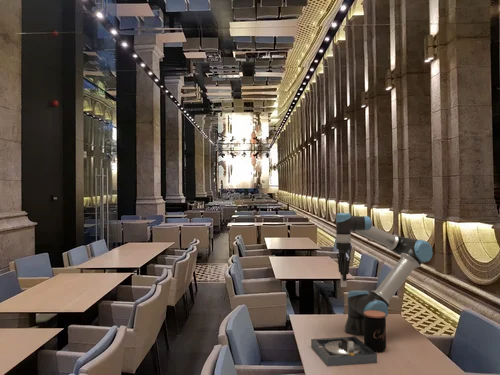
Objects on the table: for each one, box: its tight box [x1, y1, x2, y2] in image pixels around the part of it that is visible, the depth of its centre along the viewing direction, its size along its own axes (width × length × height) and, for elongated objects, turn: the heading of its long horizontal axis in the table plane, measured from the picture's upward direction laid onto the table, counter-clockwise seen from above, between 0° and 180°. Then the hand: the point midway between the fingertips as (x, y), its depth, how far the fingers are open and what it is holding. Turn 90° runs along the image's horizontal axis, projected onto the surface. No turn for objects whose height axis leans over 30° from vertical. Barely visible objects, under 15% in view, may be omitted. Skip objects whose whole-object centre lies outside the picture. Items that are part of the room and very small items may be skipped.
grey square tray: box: [310, 335, 378, 367], centre depth 200 cm, size 24×24×5 cm
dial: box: [325, 338, 360, 355], centre depth 200 cm, size 17×17×6 cm
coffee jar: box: [363, 310, 387, 353], centre depth 207 cm, size 11×11×18 cm
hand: (343, 286), depth 216 cm, fingers closed
